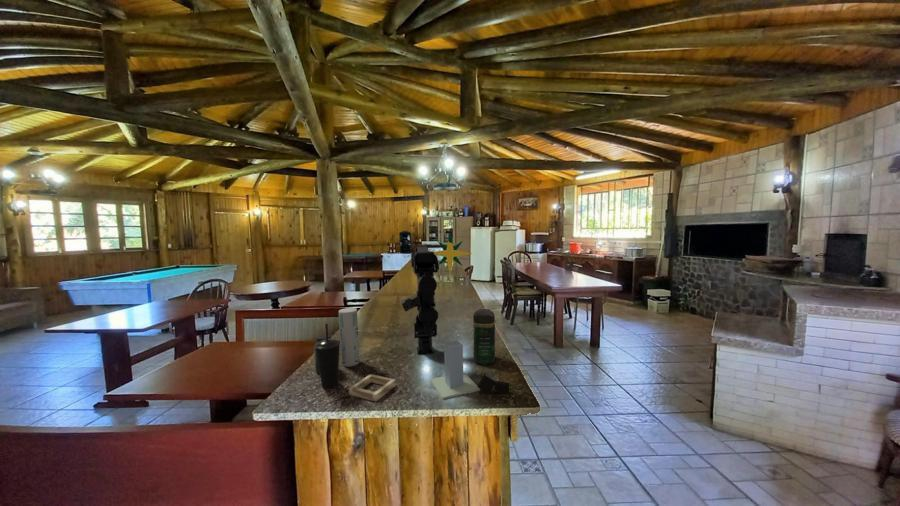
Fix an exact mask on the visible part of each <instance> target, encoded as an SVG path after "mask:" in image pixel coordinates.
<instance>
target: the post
mask: <svg viewBox="0 0 900 506" xmlns="http://www.w3.org/2000/svg"><path fill="white" fill-rule="evenodd" d="M443 346H444V347H443V353H444V376H445V383H446V384H447V385H448V386H449V388H450V389H451V388H455V387H460V386H464V385H463V372H464V351H463V350H464V349H463V348H464V346H463V344H462V343H461V342H460V341H459V340H458V339H456V340H451V341H444V342H443Z"/></svg>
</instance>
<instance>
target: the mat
mask: <svg viewBox="0 0 900 506" xmlns="http://www.w3.org/2000/svg"><path fill="white" fill-rule="evenodd" d="M429 382H430V383H431V385H432V386H433V388H434V389H435V391H437V393H438V395H439V396H440V397H441V399H442V400H446V399H449V398H454V397H459V396H463V395H467V393H468V394H472V393H476V392H480V391H481V389H480V388H478V387H477V385H478V384H476V383H475V382H474V381H473V379H471V378H470V376H469V375H467V373H465V372H464V371H463V385H464V386H460V387H455V388H451V389H450V388H449V386H448V385H447V384H446V383H445V375H444V376H440V377H439V376H438V377H434V378H430V379H429ZM462 394H463V395H462ZM458 395H459V396H458Z"/></svg>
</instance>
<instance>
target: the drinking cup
mask: <svg viewBox="0 0 900 506" xmlns="http://www.w3.org/2000/svg"><path fill="white" fill-rule="evenodd" d="M324 325H325V335H326V339H325V340H322V341H320V342H318V343H315V344H314V347H315V348H316V353H317V359H318V365H319V371H320V373H319V375H320V382H321V388H322V389H326V390H327V389H333V388H335V387H337V386H338V384H339V366H340V365H339V364H340V363H339V362H340V346H341V342H340V339H339V340H338V339H335V338H331V339H328V335H329V329H328V328H329V327H328V325H329V324H328V323H325V324H324Z"/></svg>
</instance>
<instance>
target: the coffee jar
mask: <svg viewBox="0 0 900 506" xmlns="http://www.w3.org/2000/svg"><path fill="white" fill-rule="evenodd" d="M472 318H473V361H474V363H476V364H480V365H484V366H485V365H489V364H490V365H491V364H494V362H495V360H496V320H495V318H496V317H495V312H494V311H492V310H491V309H489V308H479V309H477V310H476V311H474V313H473V315H472Z"/></svg>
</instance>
